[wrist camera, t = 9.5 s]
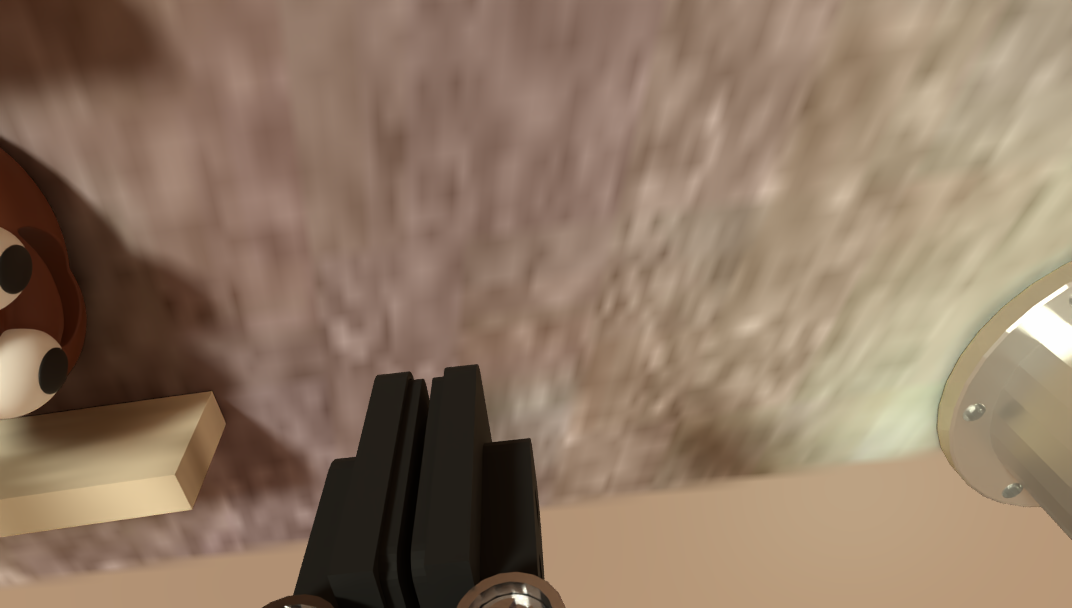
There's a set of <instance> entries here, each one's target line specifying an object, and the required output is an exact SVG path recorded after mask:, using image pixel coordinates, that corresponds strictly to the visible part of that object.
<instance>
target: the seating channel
mask: <svg viewBox="0 0 1072 608" xmlns="http://www.w3.org/2000/svg"><path fill="white" fill-rule="evenodd" d="M225 425H226V423H225V420H224V418H223V416H222V413H221V411H220V408H219V406H218V404H217V401H216V399H215V397H214V394H213V392H212V391H209V392H201V393H194V394H187V395H180V396H173V397H165V398H158V399H151V400H144V401H136V402H129V403H122V404H115V405H108V406H100V407H93V408H86V409H79V410H71V411H64V412H57V413H50V414H42V415H35V416H28V417H21V418H14V419H6V420H0V537H5V536H12V535H19V534H26V533H33V532H40V531H47V530H54V529H61V528H68V527H75V526H82V525H89V524H96V523H103V522H109V521H116V520H123V519H130V518H137V517H144V516H151V515H158V514H165V513H172V512H179V511H186V510H192V509H193V506H194V504H195V501H196V499H197V496H198V494H199V491H200V489H201V486H202V483H203V481H204V478H205V476H206V473H207V471H208V468H209V466H210V463H211V461H212V458H213V456H214V453H215V451H216V448H217V446H218V443H219V441H220V438H221V436H222V433H223V431H224V428H225Z"/></svg>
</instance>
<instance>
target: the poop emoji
mask: <svg viewBox="0 0 1072 608" xmlns="http://www.w3.org/2000/svg"><path fill="white" fill-rule="evenodd" d="M86 328H87V316H86V307H85V302H84V298H83V295H82V292H81V289H80V287H79V285H78V283H77V281H76V279H75V277H74V275H73V273H72V272H71V270H70V268H69V259H68V254H67V249H66V245H65V241H64V238H63V235H62V232H61V229H60V226H59V224H58V221H57V219H56V217H55V215H54V213H53V211H52V209H51V207H50V205H49V203H48V202H47V200H46V198H45V197H44V195H43V194H42V192H41V191H40V189H39V188H38V186H37V185H36V184H35V182H34V181H33V180H32V179H31V177H30V176H29V175H28V174H27V173H26V171H25V170H24V169H23V168H22V167H21V166H20V165H19V164H18V163H17V162H16V161H15V160H14V159H13V158H12V157H11V156H10V155H8V154H7V153H6V152H5V151H4V150H3V149H1V148H0V419H9V418H15V417H19V416H22V415H25V414H28V413H30V412H32V411H34V410H36V409H38V408H39V407H41V406H42V405H44V404H45V403H46V402H48V401H49V400H50V399H51V398H52V397H53V396H54V395H55V393H56V392H57V391H58V390H59V389H60V388H61V387H62V385H63V384H64V382H65V380H66V377H67V376H68V374H69V373H70V371H71V370H72V369H73V367H74V365H75V364H76V362H77V360H78V358H79V356H80V353H81V351H82V348H83V345H84V341H85V336H86Z"/></svg>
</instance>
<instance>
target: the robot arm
mask: <svg viewBox="0 0 1072 608" xmlns="http://www.w3.org/2000/svg"><path fill="white" fill-rule="evenodd" d="M937 430H938V435H939V440H940V445H941V449H942V451H943V453H944V454H945V456H946V458H947V460H948V462H949V463H950V465H951V466H952V467H953V468H954V469H955V471H956V472H957V473H958V474H959V475H960V476H961V477H962V479H963V480H964V481H965V482H966V483H967V485H968V486H970V487H971V488H973V489H974V490H976V491H977V492H979V493H980V494H981V495H983V496H985V497H987V498H990V499H992V500H994V501H997V502H1000V503H1004V504H1010V505H1017V506H1023V507H1042V508H1043V509H1044V510H1045V511H1046V512H1047V514H1049V516H1050V517H1051V518H1052V519H1053V520H1054V521H1055V522H1056V523H1057V524H1058V525H1059V526H1060V528H1061V529H1062V530H1063V531H1064V532H1065V533H1066V534H1067V535H1068V536H1069V538H1070V539H1071V540H1072V261H1071V262H1069V263H1067V264H1065V265H1063V266H1061V267H1060V268H1058V269H1056V270H1055V271H1053V272H1051V273H1050V274H1048V275H1046V276H1045V277H1043V278H1041V279H1040V280H1038V281H1036V282H1035V283H1033V284H1032V285H1030V286H1029V287H1028V288H1027V289H1025V290H1024V291H1023V292H1021V293H1020V294H1019V295H1018V296H1016V297H1015V298H1014V299H1012V300H1011V301H1010V302H1009V303H1007V304H1006V305H1005V306H1004V307H1003V308H1002V309H1001V310H1000V311H999V312H998V313H997V314H996V315H995V316H994V317H993V318H992V319H991V320H990V321H989V322H988V323H987V324H986V325H985V326H984V327H983V328H982V329H981V330H980V331H979V332H978V334H977V335H976V336H975V337H974V339H973V340H972V341H971V343H970V344H969V345H968V347H967V348H966V349H965V351H964V352H963V353H962V355H961V356H960V358H959V360H958V362H957V364H956V365H955V367H954V369H953V371H952V373H951V375H950V377H949V379H948V380H947V382H946V385H945V389H944V392H943V395H942V398H941V401H940V405H939V412H938V424H937ZM262 608H565V605H564V603H563V601H562V599H561V597H560V595H559V593H558V592H557V591H556V590H555V589H554V588H553V587H552V586H551V585H550V584H549V583H548V582H547V581H545V580H544V566H543V552H542V537H541V523H540V511H539V500H538V490H537V481H536V473H535V465H534V458H533V450H532V444H531V439H530V438H527V439H518V440H509V441H499V442H492V439H491V433H490V427H489V421H488V415H487V410H486V404H485V398H484V392H483V386H482V380H481V374H480V369H479V366H478V364H475V365H466V366H457V367H447V368H445V370H444V377H436V378H433V380H432V387H431V395H430V400H429V395H428V391H427V386H426V383H425V380H424V379H417V380H414V378H413V375H412V373H411V372H401V373H392V374H383V375H377V376H376V378H375V381H374V385H373V389H372V393H371V397H370V401H369V405H368V409H367V413H366V418H365V422H364V426H363V430H362V434H361V438H360V442H359V446H358V451H357V455H356V457H350V458H341V459H335V460H334V461H333V462H332V463H331V466H330V468H329V471H328V474H327V478H326V481H325V485H324V488H323V492H322V495H321V499H320V502H319V506H318V510H317V513H316V517H315V520H314V524H313V527H312V531H311V534H310V538H309V541H308V545H307V548H306V552H305V555H304V559H303V562H302V566H301V569H300V573H299V577H298V580H297V584H296V588H295V591H294V594H293V596H287V597H284V598H281V599H279V600H276V601H273V602H270V603H269V604H267V605H266V606H264V607H262Z"/></svg>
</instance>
